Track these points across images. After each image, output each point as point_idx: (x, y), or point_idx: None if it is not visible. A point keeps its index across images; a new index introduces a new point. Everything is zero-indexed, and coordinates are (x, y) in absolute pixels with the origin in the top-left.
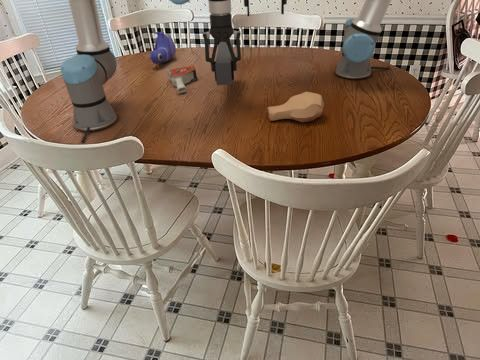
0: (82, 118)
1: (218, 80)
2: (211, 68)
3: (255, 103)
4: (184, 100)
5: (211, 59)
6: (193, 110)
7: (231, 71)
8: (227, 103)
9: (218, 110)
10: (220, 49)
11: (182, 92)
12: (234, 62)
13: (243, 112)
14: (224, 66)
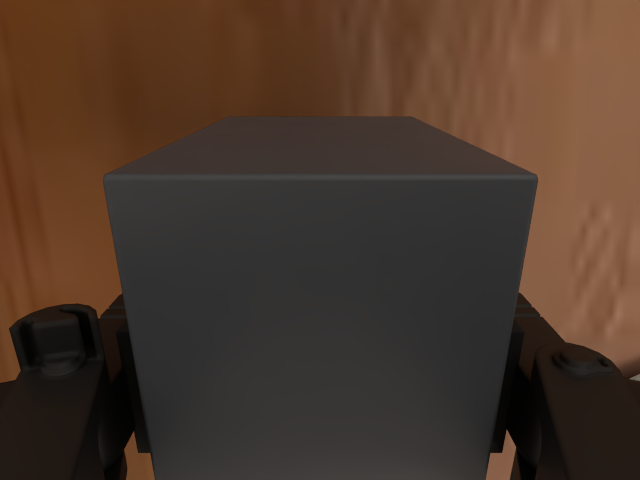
0: None
1: (399, 124)
2: (532, 309)
3: (98, 167)
4: (623, 271)
5: (626, 399)
6: (574, 87)
7: None
8: None
9: (377, 66)
10: None
11: (632, 377)
12: (64, 315)
13: (171, 2)
14: (287, 159)
